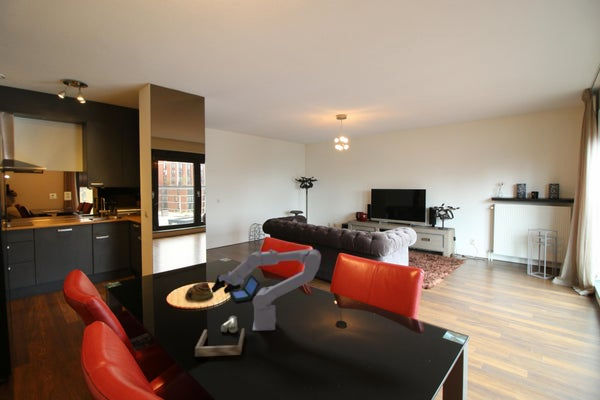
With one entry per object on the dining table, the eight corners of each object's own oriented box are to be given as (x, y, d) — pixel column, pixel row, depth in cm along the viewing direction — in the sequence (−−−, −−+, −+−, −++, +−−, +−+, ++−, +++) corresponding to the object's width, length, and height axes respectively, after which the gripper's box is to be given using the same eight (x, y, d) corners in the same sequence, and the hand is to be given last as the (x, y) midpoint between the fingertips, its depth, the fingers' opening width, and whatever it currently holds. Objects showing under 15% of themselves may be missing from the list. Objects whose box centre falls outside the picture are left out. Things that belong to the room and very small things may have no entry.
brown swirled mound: (208, 301, 146) (208, 286, 145) (180, 301, 146) (180, 286, 145) (216, 292, 159) (216, 278, 158) (190, 291, 159) (190, 278, 159)
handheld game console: (228, 293, 157) (228, 277, 157) (251, 289, 163) (251, 274, 163) (235, 303, 143) (235, 286, 143) (260, 299, 150) (260, 282, 149)
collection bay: (244, 335, 113) (244, 328, 113) (240, 354, 100) (240, 346, 100) (204, 336, 112) (204, 329, 111) (195, 356, 99) (195, 348, 98)
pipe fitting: (221, 335, 114) (237, 332, 115) (220, 326, 113) (237, 323, 115) (221, 326, 121) (237, 323, 123) (220, 317, 121) (236, 314, 123)
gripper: (247, 267, 129) (226, 285, 131) (226, 262, 117) (204, 282, 119) (253, 280, 125) (231, 298, 127) (231, 276, 113) (208, 296, 115)
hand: (218, 291), depth 123 cm, fingers open, 7 cm apart
